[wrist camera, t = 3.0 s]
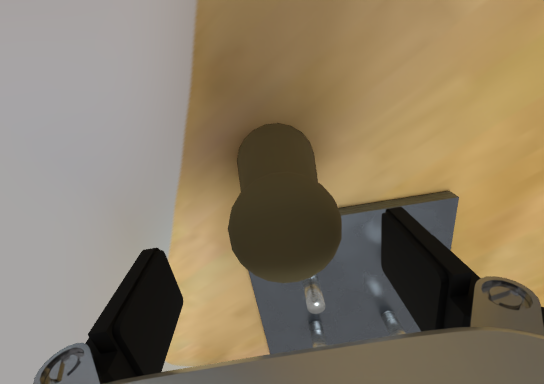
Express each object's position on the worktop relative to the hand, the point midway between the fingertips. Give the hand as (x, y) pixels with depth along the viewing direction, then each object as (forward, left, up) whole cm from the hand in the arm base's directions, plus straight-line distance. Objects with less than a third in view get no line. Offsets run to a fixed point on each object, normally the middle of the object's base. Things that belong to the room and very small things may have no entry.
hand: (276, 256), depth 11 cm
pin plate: (+14, +6, -11) cm, 18 cm away
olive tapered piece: (0, +1, -11) cm, 11 cm away
